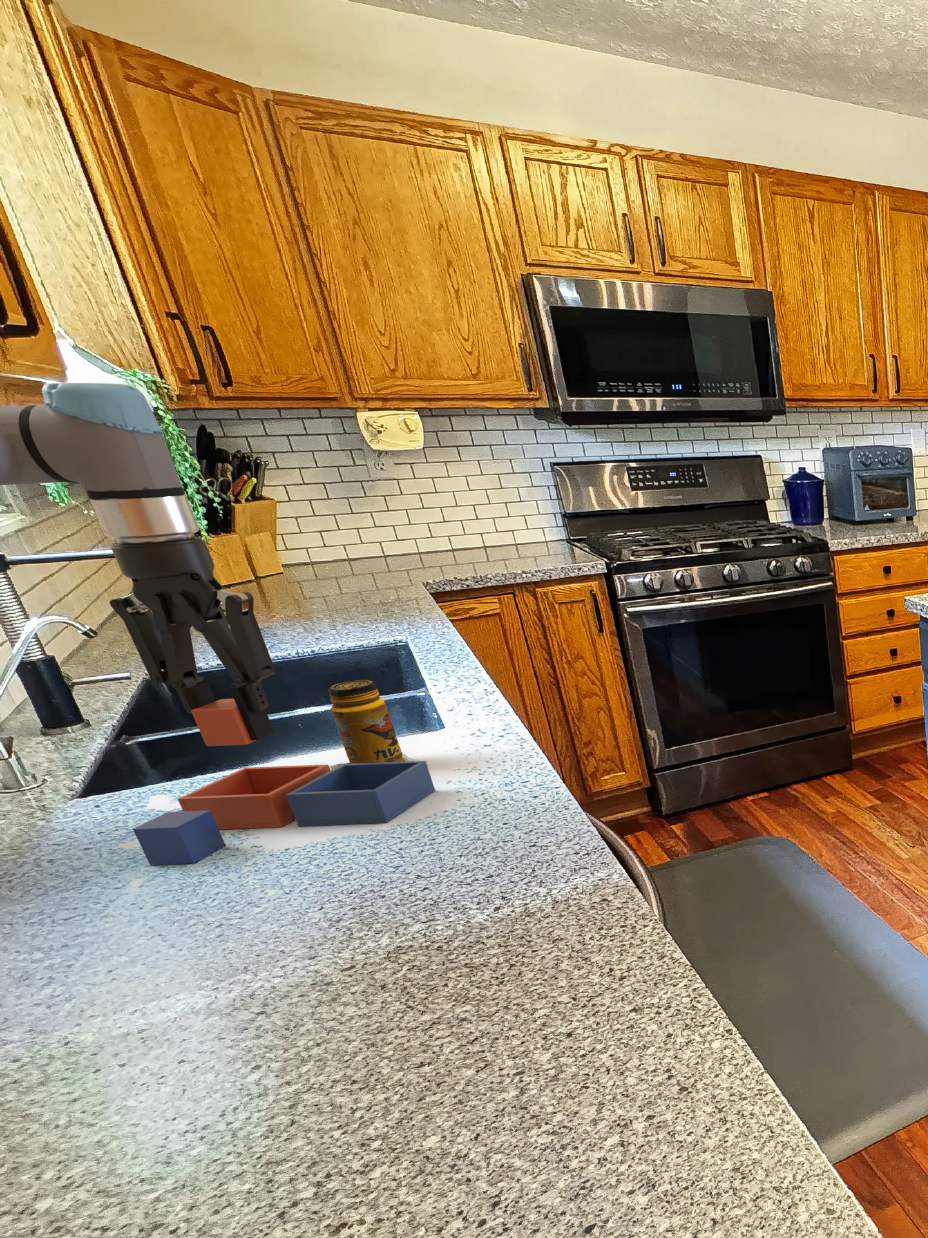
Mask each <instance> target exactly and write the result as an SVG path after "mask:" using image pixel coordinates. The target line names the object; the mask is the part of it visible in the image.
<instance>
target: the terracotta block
mask: <svg viewBox="0 0 928 1238" xmlns="http://www.w3.org/2000/svg"><path fill="white" fill-rule="evenodd" d="M191 712H192V714H191V715H192V716H193V719H194V721H195V724H196V725H197V727H198V730H199V732H200V734H201V737H202V739H203V742H204V743H205V746H206V747H222V746H223V747H224V746H247V745H249V744H251V743H254V742H256V741H257V740H251V738H250V736H249V733H248V731H247V728H246V726H245V723H244V721H243V719H242V716H241V714H240V711H239V709H238V707H237V705H236V703H235V700H234V698H221V699H218V700H215V702H213V703H210V704H207V705H204V706H202V707H199V708H196V709H193V710H191Z"/></svg>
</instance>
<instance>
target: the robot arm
mask: <svg viewBox="0 0 928 1238" xmlns="http://www.w3.org/2000/svg"><path fill="white" fill-rule="evenodd" d="M41 393H42V396H43V400H42V402H44V403H40V404H31V405H0V486H9V485H10V486H12V485H33V484H56V483H66V484H68V483H81V485H82V487H83V488H84V490H85V492H86V494H87V497H88V499H89V501H90V503H91V505H92V508H93V510H94V512H95V515H96V517H97V520H98V522H99V524H100V527H101V530H102V531H103V534H104V536H105V537H107V538H110V539H114V540H115V542H114V543H112V544H111V546H110V549H111V551H112V553H113V556H114V558H115V560H116V563H117V565H118V567H119V569H120V571H121V573H122V575H123V576H124V577H126V578H129V579H131V582H132V587H131V592H132V593H130V594H128V595H126V596H123V597H117V598H112V599H110V600H109V606H110V607H111V608H112V609H113V610H114V612H115V613H116V615H118V616H119V617H120V618H121V619H122V621H123V623H124V625H125V627H126V629H127V632H128V633H129V636H130V638H131V640H132V643H133V645H134V646H135V649H136V651H137V653H138V656H139V657H140V660H141V662H142V663H143V665H144V667H145V670H146V672H147V674H148V677H149V678H150V680H151V682H152V683H154V684H156V685H160V684H164V685H168V686H170V687H172V688H173V689H175V690H176V692H177V695H178V697H179V699H180V701H181V702H182V705H183V708H184V710H185V711H186V712H187V714H189V715H193V714H192V712H191V710H193V709H196V708H199V707H202V706H204V705H207V704H210V703H213V702H215V701H216V698H215V696H214V694H213V692H212V689H211V687H210V685H209V683H208V682H203V681H204V678H205V677H204V676H203V677H201V676H199V675H198V668H197V662H196V658H195V651H194V645H193V638H192V634H191V628H192V627H193V629H194V630H195V631H197V632H198V633H200V634H202V636H203V638H204V639H205V641H206V642H207V643H208V645H209V646H210V648H211V649H212V651H213V653H214V654H215V655H216V657H217V658H218V660H219V661H220V663H221V664H222V665H223V667H224V669H225V670H226V672H227V673H228V675H229V676H230V678H231V679H232V681H233V682H234V683H233V682H232V683H231V684H230V687H229V691H230V693H231V696H232V699H234V700H235V703H236V705H237V707H238V709H239V711H240V714H241V716H242V719H243V721H244V723H245V726H246V728H247V731H248V733H249V736H250V738H251V740H256V741H259V740H261V739H264V738H266V737H268V736H270V735H272V734H274V733H276V732H275V730H274V727H273V725H272V722H271V720H270V718H269V715H268V713H267V711H266V709H269V705H270V703H269V700H268V699H267V696H266V693H265V691H264V688H263V685H262V680H264V679H266V678H269V677H271V676H274V675H275V674H276V669H275V665H274V663H273V660H272V658H271V655H270V652H269V650H268V647H267V645H266V642H265V639H264V637H263V634H262V632H261V628H260V626H259V623H258V620H257V619H256V618H257V617H256V614H255V613H254V608H255V607H254V605H255V604H254V603H255V602H254V601H255V599H254V596H253V594H252V593H251V592H248V591H244V592H235V591H231V590H228V589H225V588H224V586H223V585H222V584H221V583H220V581H218V580H217V579H216V577H215V576H214V569H215V563H214V560H213V558H212V556H211V553H210V550H209V548H208V545H207V543H206V540H205V539H202V537H200V536H196V535H195V534H196V533H197V532H199V531H200V526H199V524H198V522H197V519H196V517H195V514H194V511H193V509H192V507H191V504H190V502H189V499H188V497H187V494H186V491H185V489H184V487H183V485H182V483H181V480H180V477H179V474H178V472H177V469H176V467H175V464H174V460H173V459H172V456H171V454H170V451H169V448H168V445H167V443H166V440H165V437H164V431H163V430H164V429H162V428H161V427H160V425H159V423H158V421H157V419H156V417H155V415H154V412H153V411H152V408H151V407H150V404H149V403H148V400H147V398H146V396H145V395H144V393H143V392H142V391H140V390H139V389H138V388H136V387H134V386H132V385H130V384H123V383H107V382H106V383H103V382H102V383H101V382H61V383H58V382H57V383H56V382H51V383H45V384H44V385H43V386H42V388H41ZM223 610H224V611H223Z"/></svg>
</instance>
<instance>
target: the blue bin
mask: <svg viewBox="0 0 928 1238" xmlns="http://www.w3.org/2000/svg"><path fill="white" fill-rule="evenodd" d="M408 761H409V762H381V763H354V764H344V763H341V764H342V765H340V766H339V767H337V768H335V769H333V770H331V769H330V770H331V771H329V772H327V773H326V774H324V775H322V776H320V777H318V778H316V779H314V780H312V781H311V782H309V783H307V784H305V785H303V786H301V787H299V788H297V789H296V790H294V791H292V792H290V793H288V794H286V797H287V799H288V802H289V804H290V807H291V809H292V812H293V814H294V817H295V822H296V824H297V826H298V827H312V826H313V827H314V826H317V827H318V826H339V825H363V824H385V823H389V822H390V821H392V820H393V819H395V818H396V817H398V816H399V815H401V814H402V813H404V812H406V810H409V808H411V807H412V806H414V805H415V804H417V803H418V802H420V801H421V800H423V799H425V798H426V797H428V796H429V795H430V794H432V793H433V792H435V791H436V789H435V786H434V782H433V780H432V779H433V778H432V776H431V773H430V769H429V765H428V764H427V761H426V760H408Z"/></svg>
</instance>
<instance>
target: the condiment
mask: <svg viewBox="0 0 928 1238" xmlns="http://www.w3.org/2000/svg"><path fill="white" fill-rule="evenodd" d="M327 693H328V695H329V697H330V702H331V703H332V705H331V708H330V712H331V715H332V719H333V721H334V723H335V725H336V728H337V731H338V734H339V736H340V740H341V742H342V746H343V748H344V750H345V754H346V757H347V759H348V762H345V763H337V764H333V765H329V768H330V770H333V769H335V768H337V767H339V766H340V765H342V764H354V763H381V762H409V761H410V760H408V758H407V757H406V756H405V754H404V753H403V751H402V749H401V746H400V742H399V740H398V737H397V733H396V731H395V728H394V727H395V726H394V724H393V721H392V718H391V716H390V713H389V709H388V706H387V704H386V702H385V701H386V700H384V699H383V698H381V697H380V692H379V691H378V687H377V684H376V682H374V681H373V680H370V679H369V680H368V679H355V680H349V681H348V680H347V681H343V682H339V683H335V684H333V685H330V686H329V687H328V689H327Z"/></svg>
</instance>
